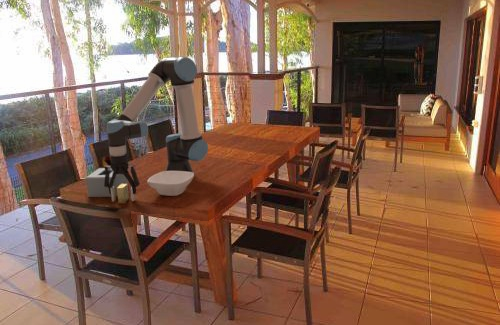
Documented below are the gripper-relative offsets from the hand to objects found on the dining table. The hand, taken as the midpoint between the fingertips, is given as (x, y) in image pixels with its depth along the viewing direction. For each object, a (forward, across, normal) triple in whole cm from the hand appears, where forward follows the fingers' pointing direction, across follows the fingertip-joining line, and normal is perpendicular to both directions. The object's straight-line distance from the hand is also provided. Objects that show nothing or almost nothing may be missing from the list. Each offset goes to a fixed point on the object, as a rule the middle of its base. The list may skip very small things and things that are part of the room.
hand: (123, 200), depth 208 cm
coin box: (0, +13, -14) cm, 19 cm away
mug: (0, +17, -35) cm, 39 cm away
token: (0, 0, 0) cm, 0 cm away
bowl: (0, -21, -10) cm, 23 cm away
